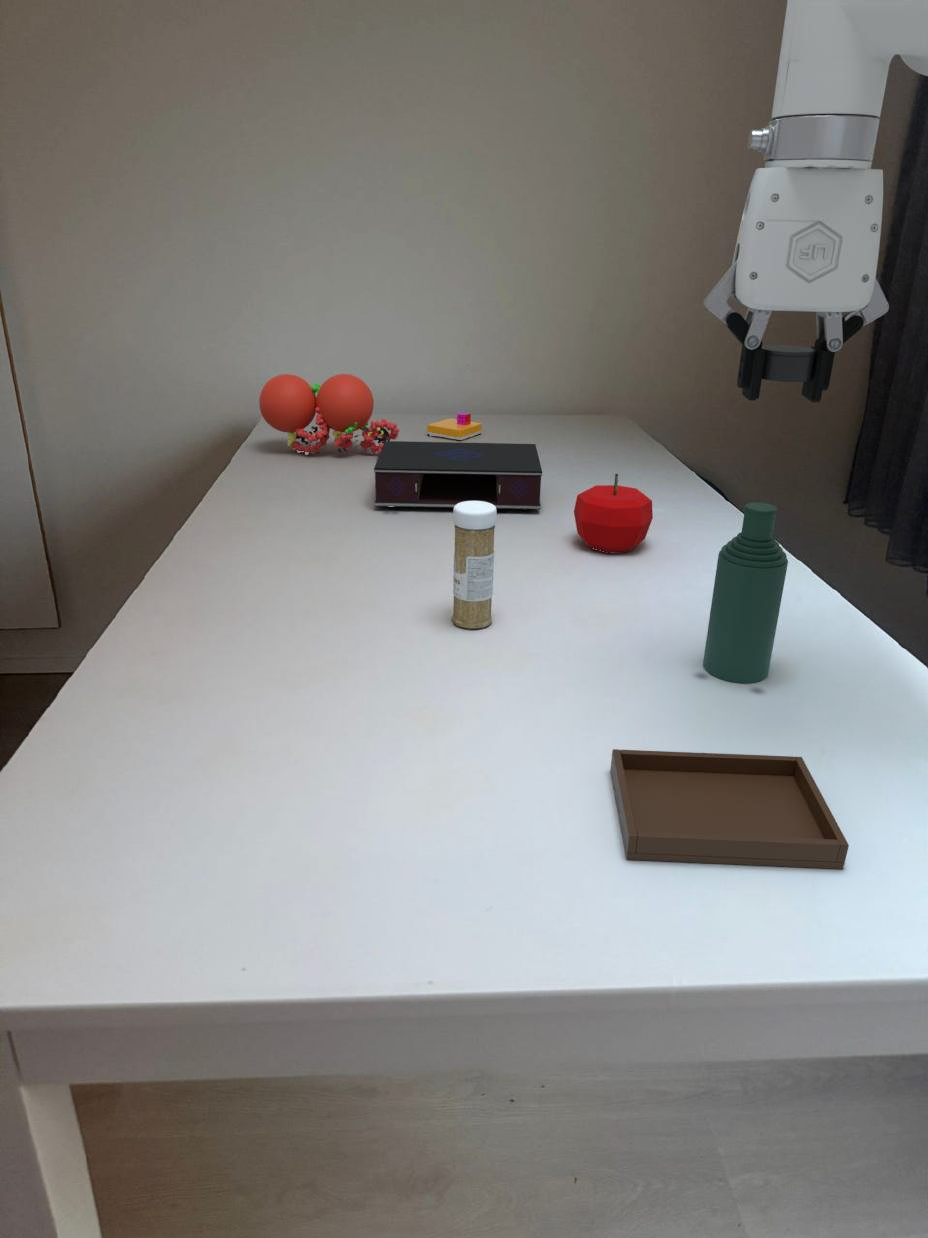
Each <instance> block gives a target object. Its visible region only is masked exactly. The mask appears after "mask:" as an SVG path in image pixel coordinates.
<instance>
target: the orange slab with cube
mask: <svg viewBox="0 0 928 1238" xmlns="http://www.w3.org/2000/svg"><path fill="white" fill-rule="evenodd" d="M471 416H472V414H471V413H469V412H459V413H457V414H456V418H451V417H449V418H445V419H442V420H439V421H435V422H431V423H429V424H427V427H426V428H427V429H426V431H427V432H432V433H437V434H442V435H447V436H453V437H459V438H461V437H463V436H466V435H469V434H473V433H475V432H478V431H481V430H483V428H482V425H483V424H482V423H481V422H477V421H471V420H472V419H471V418H472V417H471ZM427 432H426V433H427Z"/></svg>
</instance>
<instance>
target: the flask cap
mask: <svg viewBox="0 0 928 1238" xmlns="http://www.w3.org/2000/svg"><path fill="white" fill-rule="evenodd" d="M762 350H764V351H765V361H764V368H763V374H762V380H764V381H765V380H766V381H771V382H781V383H803V382H806V381H810V380H811V377H812V371H813V365H814V359H815V353H816V350H815V349H812V348H811V347H806V346H799V345H787V344H767V345H762Z"/></svg>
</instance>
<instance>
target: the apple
mask: <svg viewBox="0 0 928 1238" xmlns="http://www.w3.org/2000/svg"><path fill="white" fill-rule="evenodd" d="M618 482H619V473H615V475H614V484H603V485H602V484H598V485H594V486H592V487H590V488H588V489H586V490H584V491H582V492H580V493H578V494H577V495H576V499H575V504H574V509H573V516H574V521H575V526H576V533H577V535H578V536H579V538H581V540H582V541H583V542H584V543H585V542H586V543H587V544H588V545H589V546H590V547H589V546H588V545H587V544H586V543H585V544H586V545H587V546H588V547H589V548H590V549H592V548H594V549H597V550H601V551H604V552H603V553H605V552H608V553H610V554H612V553H611V552H622V553H626V552H625V551H627V552H629V551H631V550H633V549H634V547H635V548H636V547H637V546H639V545H640V544H641V543H642V542H644V541H645V540H646V537H647V535H648V533H649V529H650V526H651V524H652V521H653V518H654V517H653V499H651V498H649V497H648V496H647V495H646V494H645V493H643V492H642V491H640V489H638V488H636V487H630V486H625V485H618ZM632 548H633V549H632ZM597 550H596V551H597ZM601 551H600V552H601ZM608 553H607V554H608Z"/></svg>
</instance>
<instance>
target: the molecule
mask: <svg viewBox="0 0 928 1238" xmlns="http://www.w3.org/2000/svg"><path fill="white" fill-rule="evenodd" d="M374 401H375V400H374V396H373V393H372V391H371V389H370V387H369V386H368V385H367V384H366V383H365V381H363V380H362V379H361V378H360V377H358V376H355V375H353V374H346V373H340V374H335V375H333V376H331V377H329V378H327V379H326V380H324V382H323V383H321V385H320V384H319V383H318V382H317V383H315V384H314V386H312V385H311V384H310V383H309V382H308V381H306V380H305V379H304V378H303V377H300V376H298V375H295V374H289V373H288V374H287V373H284V374H279V375H276V376H273V377H272V378H270V379H269V380H268V381H267V382H266V383H265V384H264V385H263V387H262V389H261V391H260V394H259V398H258V402H259V403H258V404H259V406H258V407H259V411H260V414H261V417H262V418H263V420H264V421H265V422H266V423H267V424H268V425H269V426H270V427H272V428H273V429H275V430H277V431H278V432H282V433H287V436H288V437H289V439H288V440H287V447H289V448H291V449H292V448H293V449H294V448H295V449H296V450H298V451H304V453H305V452H310V453H311V452H314V453H316V452H319V453H320V449H321V448H323V447H325V446H327V441H329V439H330V431H331V430H332V436H333V437H334V440H333V441H334V447H335V448H337V450H338V452H339V453H342V450H341V448H342V449H343V451H345V452H346V453H347V452H348V451H350V449H351V448H352V445H353V444H354V443H357V442H358V441H359V439H356V440H355V441H354V442H352V439H353V438H358V437H359V436H360V434H357V435H354V432H356V431H359V430H360V431H361V432H362V433H361V436H362V437H363V440H361V441H360V443H359V445H356V446H355V447H354V449H356V448H358V447H359V446H360V447H361V448H362V449H363V450H365V451H368V450H369V448H370V451H371V453H372V454H375V453H376V452H377V454H378V455H379V454H380V452H381V449H382V447H383V444H384V442H385V441H391V440H392V441H394V440H395V441H396V439H397V438H398V437H399V433H400V429H399V428H398V424H397V423H396V422H389V421H387V419H386V418H382V419H381V421H379V420H377V421H375V420H372V421H371V422H370V426H369V427H368V425H369V421H370V419H371V418H372V415H373V412H374ZM314 419H315V425H316V426H314V425H312V426H311V427H310V428H311V430H312V431H310V430H309V431H308V432H307V430H305V428H307V427H309V426H310V424H311V423H312V422H313V421H314ZM319 429H320V430H319ZM389 431H390V432H389ZM298 440H300V441H298ZM376 441H377V444H378V445H377V444H376ZM313 442H316V443H315V445H313V444H312V443H313ZM304 444H305V445H306V446H305V445H304ZM296 450H295V451H296Z"/></svg>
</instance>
